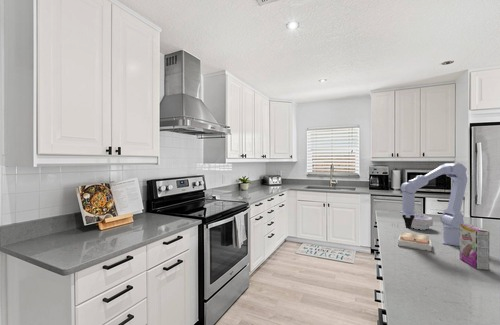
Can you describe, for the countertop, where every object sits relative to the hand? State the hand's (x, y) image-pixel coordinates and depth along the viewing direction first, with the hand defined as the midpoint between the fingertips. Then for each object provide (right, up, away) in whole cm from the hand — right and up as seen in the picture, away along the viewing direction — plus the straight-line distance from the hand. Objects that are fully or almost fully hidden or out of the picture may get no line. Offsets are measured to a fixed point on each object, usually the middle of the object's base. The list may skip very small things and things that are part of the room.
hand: (408, 228), depth 135 cm
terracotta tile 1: (+4, -7, -6) cm, 10 cm away
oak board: (+6, -8, +4) cm, 10 cm away
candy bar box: (+9, -8, -30) cm, 32 cm away
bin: (-1, -8, -6) cm, 9 cm away
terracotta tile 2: (-1, -7, -2) cm, 7 cm away
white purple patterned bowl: (+26, -8, +28) cm, 39 cm away
